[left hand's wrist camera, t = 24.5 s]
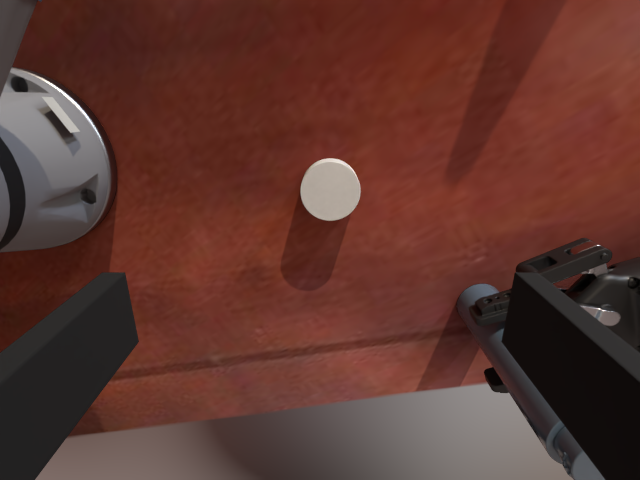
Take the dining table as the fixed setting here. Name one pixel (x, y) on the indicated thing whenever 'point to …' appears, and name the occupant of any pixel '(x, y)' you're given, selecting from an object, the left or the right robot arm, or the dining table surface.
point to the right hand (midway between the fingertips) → (481, 350)
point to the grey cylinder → (526, 391)
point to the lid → (330, 189)
